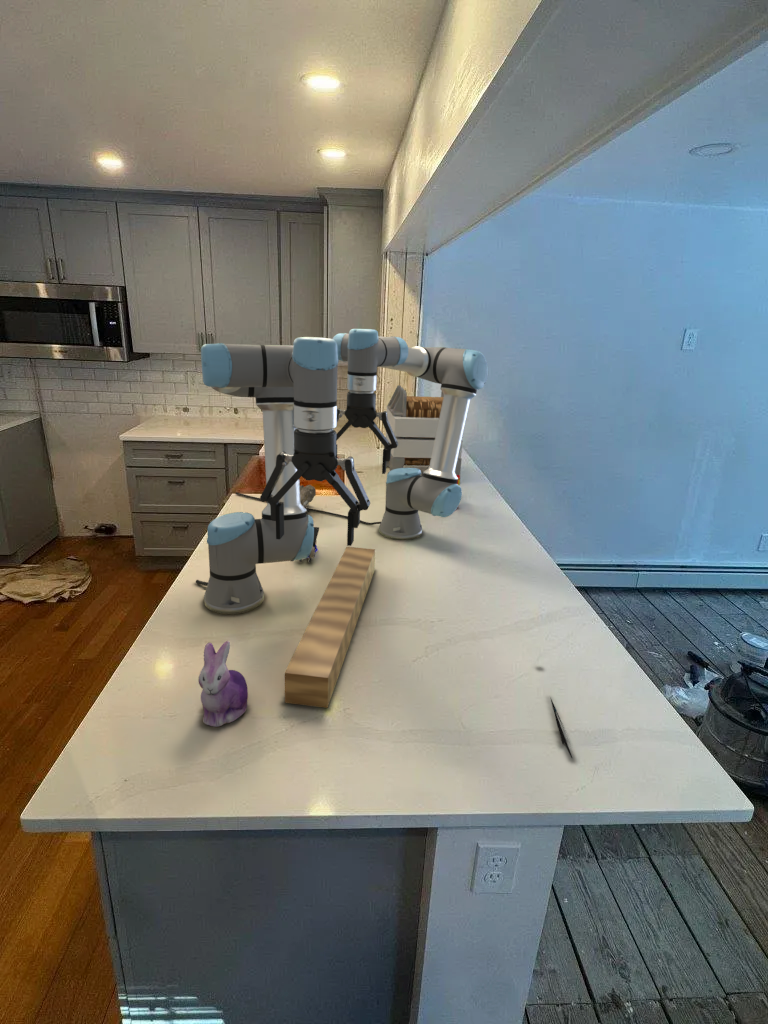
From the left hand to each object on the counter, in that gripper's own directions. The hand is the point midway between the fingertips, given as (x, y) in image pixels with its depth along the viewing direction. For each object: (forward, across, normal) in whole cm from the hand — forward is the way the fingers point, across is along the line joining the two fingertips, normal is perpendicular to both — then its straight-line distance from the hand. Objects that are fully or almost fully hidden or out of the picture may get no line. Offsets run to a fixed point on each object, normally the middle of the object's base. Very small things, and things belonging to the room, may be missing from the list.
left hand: (315, 540), depth 107 cm
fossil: (+33, -31, +102) cm, 111 cm away
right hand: (0, 0, +50) cm, 50 cm away
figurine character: (+33, -18, +63) cm, 73 cm away
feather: (+33, +49, +1) cm, 59 cm away
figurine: (+33, -15, -11) cm, 38 cm away
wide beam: (+33, 0, +25) cm, 41 cm away
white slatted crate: (+33, +10, +169) cm, 172 cm away
